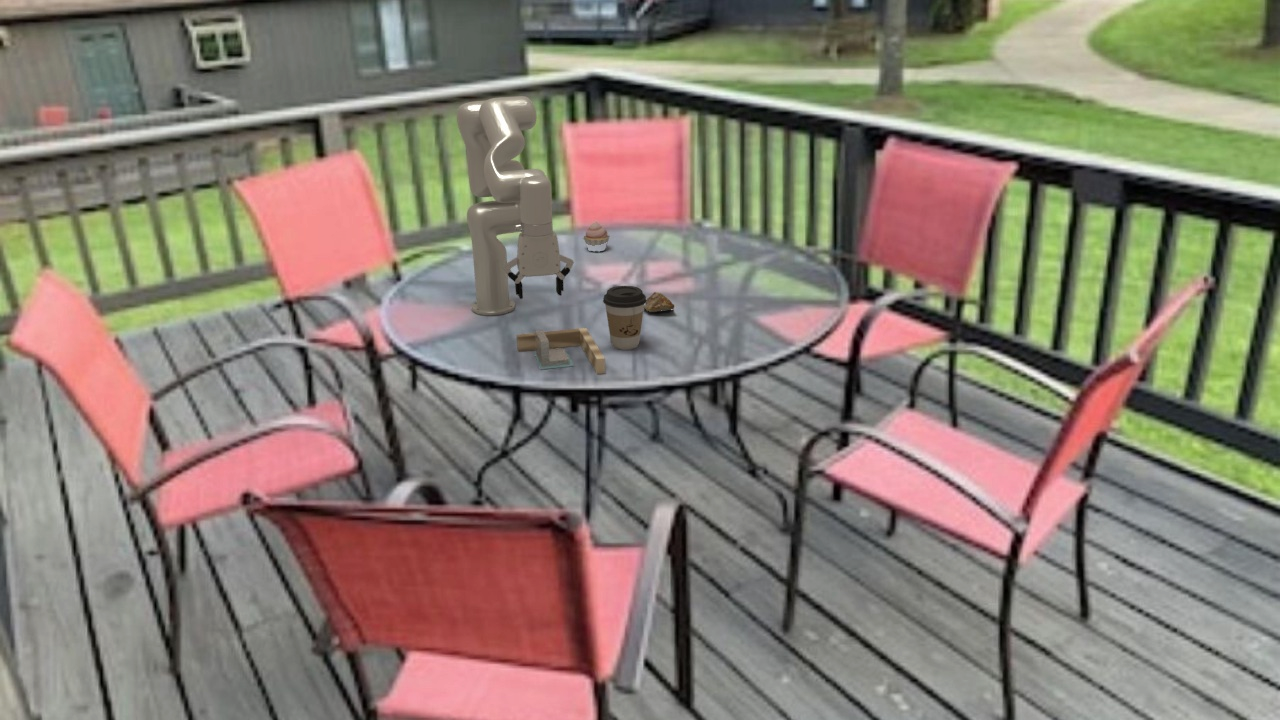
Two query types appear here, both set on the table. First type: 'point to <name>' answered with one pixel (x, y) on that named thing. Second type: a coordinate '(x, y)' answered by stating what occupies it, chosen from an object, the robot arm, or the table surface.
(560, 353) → the bracket
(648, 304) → the pie slice
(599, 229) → the cupcake
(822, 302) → the table surface
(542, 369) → the teal square plate
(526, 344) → the wooden l-shaped piece
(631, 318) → the coffee cup
